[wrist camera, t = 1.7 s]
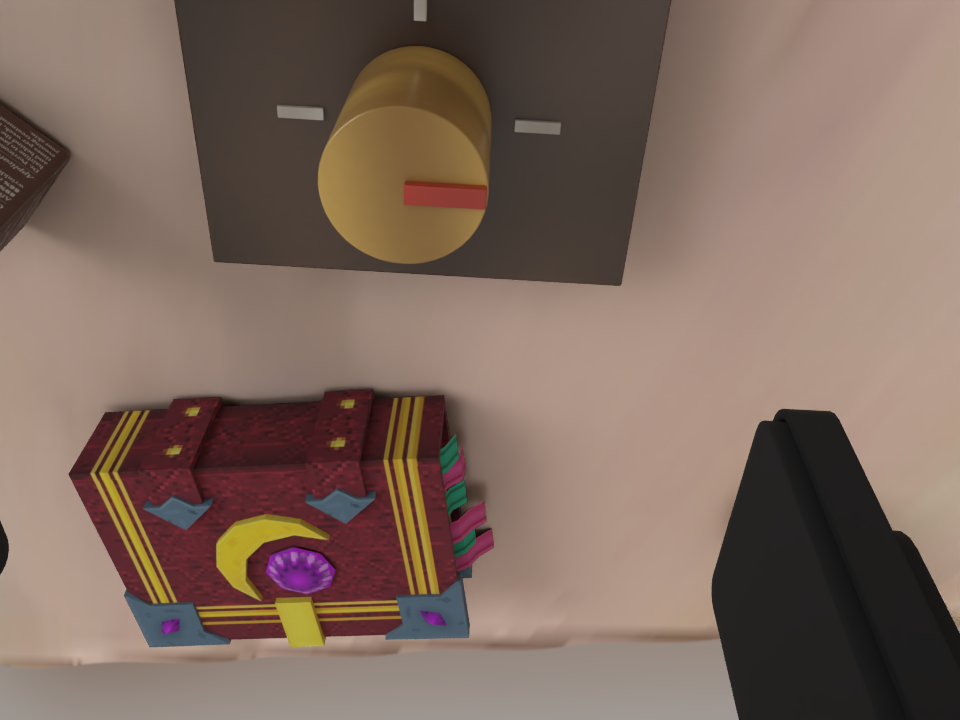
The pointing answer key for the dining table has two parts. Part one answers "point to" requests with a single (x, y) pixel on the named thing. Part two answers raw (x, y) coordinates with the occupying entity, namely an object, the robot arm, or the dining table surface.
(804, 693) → the robot arm
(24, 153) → the box
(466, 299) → the dining table surface
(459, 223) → the lock knob
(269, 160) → the lock plate
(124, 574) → the decorative book
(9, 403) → the dining table surface
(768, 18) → the dining table surface
